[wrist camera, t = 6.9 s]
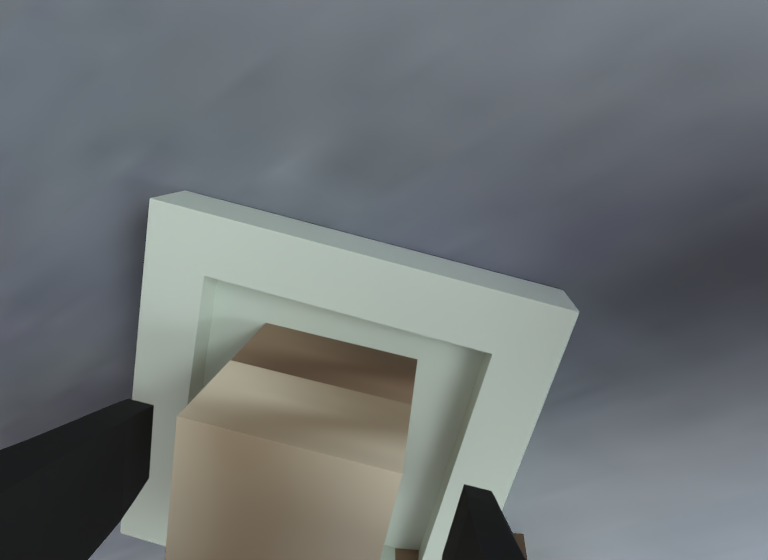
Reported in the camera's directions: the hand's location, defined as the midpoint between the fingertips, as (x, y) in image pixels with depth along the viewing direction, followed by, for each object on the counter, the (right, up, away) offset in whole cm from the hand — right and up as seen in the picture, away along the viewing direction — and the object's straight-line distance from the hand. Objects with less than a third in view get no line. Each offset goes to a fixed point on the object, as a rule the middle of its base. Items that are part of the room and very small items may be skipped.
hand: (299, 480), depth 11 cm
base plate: (0, +1, +3) cm, 3 cm away
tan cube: (0, +1, +2) cm, 2 cm away
